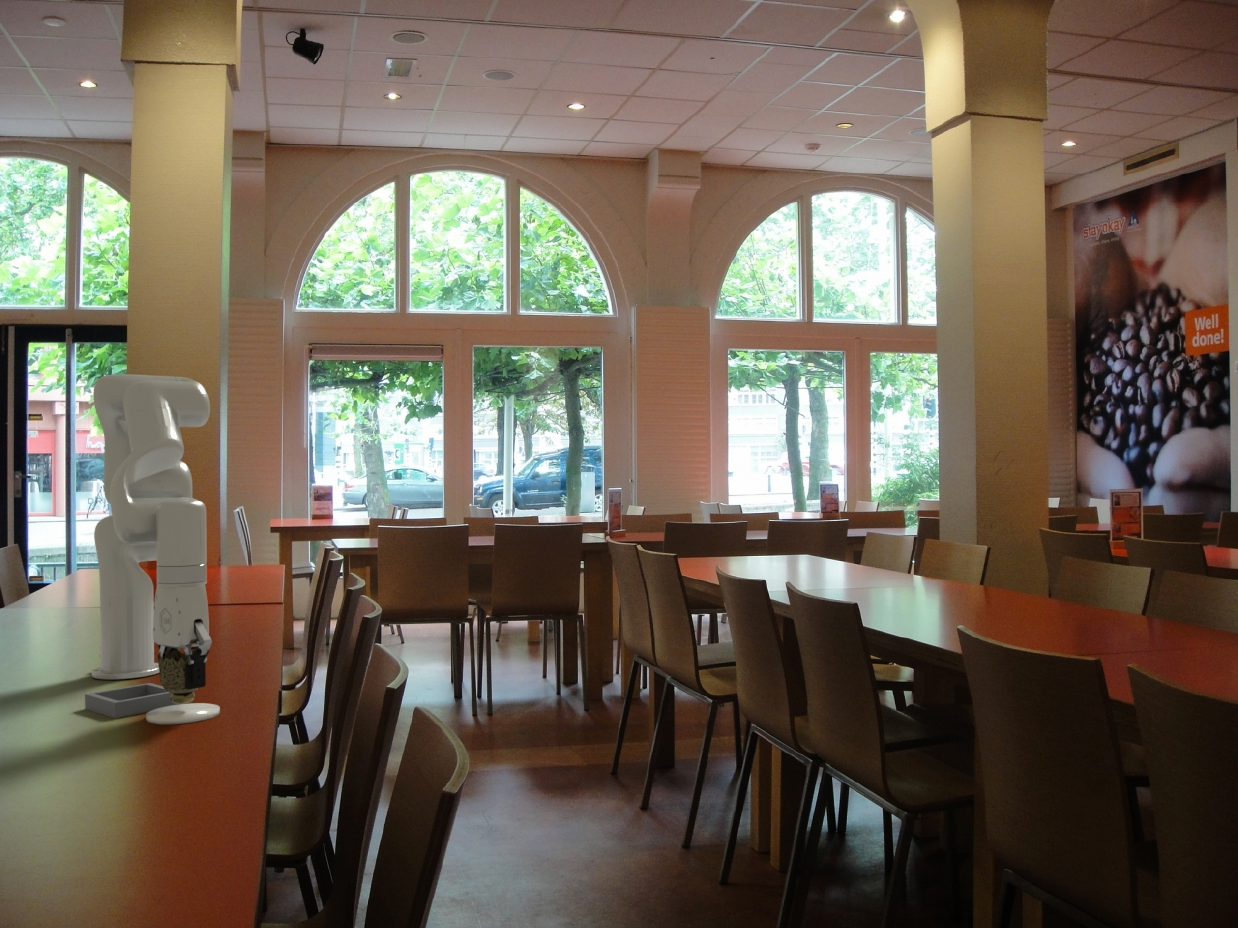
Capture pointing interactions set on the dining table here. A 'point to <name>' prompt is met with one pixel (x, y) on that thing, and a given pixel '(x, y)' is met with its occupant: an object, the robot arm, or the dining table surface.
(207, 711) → the coaster
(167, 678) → the ornate bronze lamp shade
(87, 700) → the pocket frame
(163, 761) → the dining table surface
